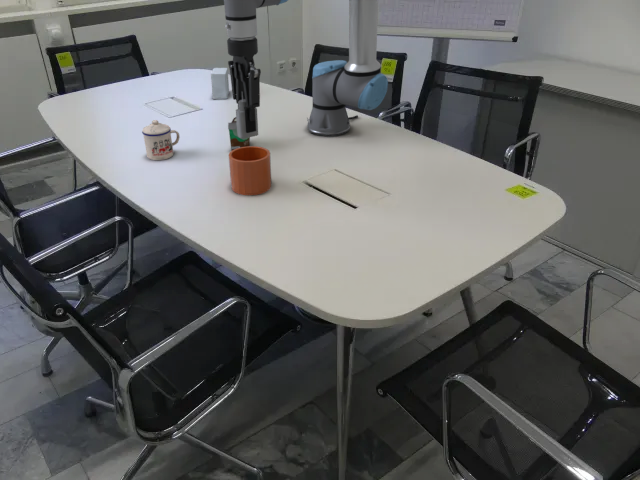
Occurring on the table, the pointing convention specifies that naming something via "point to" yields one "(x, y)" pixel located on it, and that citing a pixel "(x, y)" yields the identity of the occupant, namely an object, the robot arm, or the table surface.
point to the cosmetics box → (220, 83)
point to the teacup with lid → (159, 140)
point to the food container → (236, 136)
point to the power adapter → (241, 121)
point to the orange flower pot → (250, 170)
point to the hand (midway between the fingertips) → (247, 129)
